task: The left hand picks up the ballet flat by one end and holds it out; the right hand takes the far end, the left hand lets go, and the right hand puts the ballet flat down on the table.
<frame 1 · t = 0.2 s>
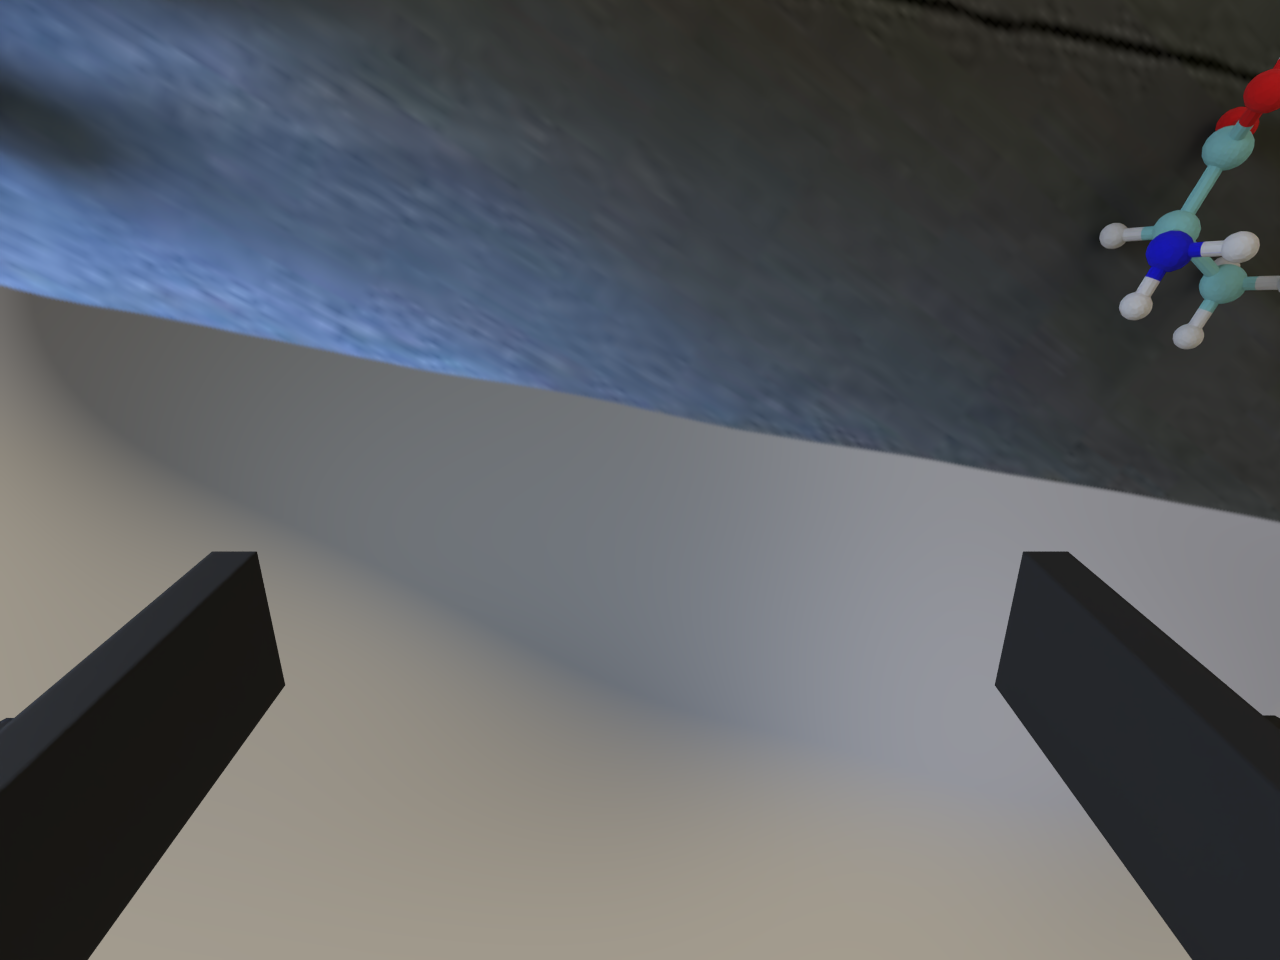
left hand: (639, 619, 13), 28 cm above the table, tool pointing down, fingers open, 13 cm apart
molecular model: (1148, 217, 37), on the table
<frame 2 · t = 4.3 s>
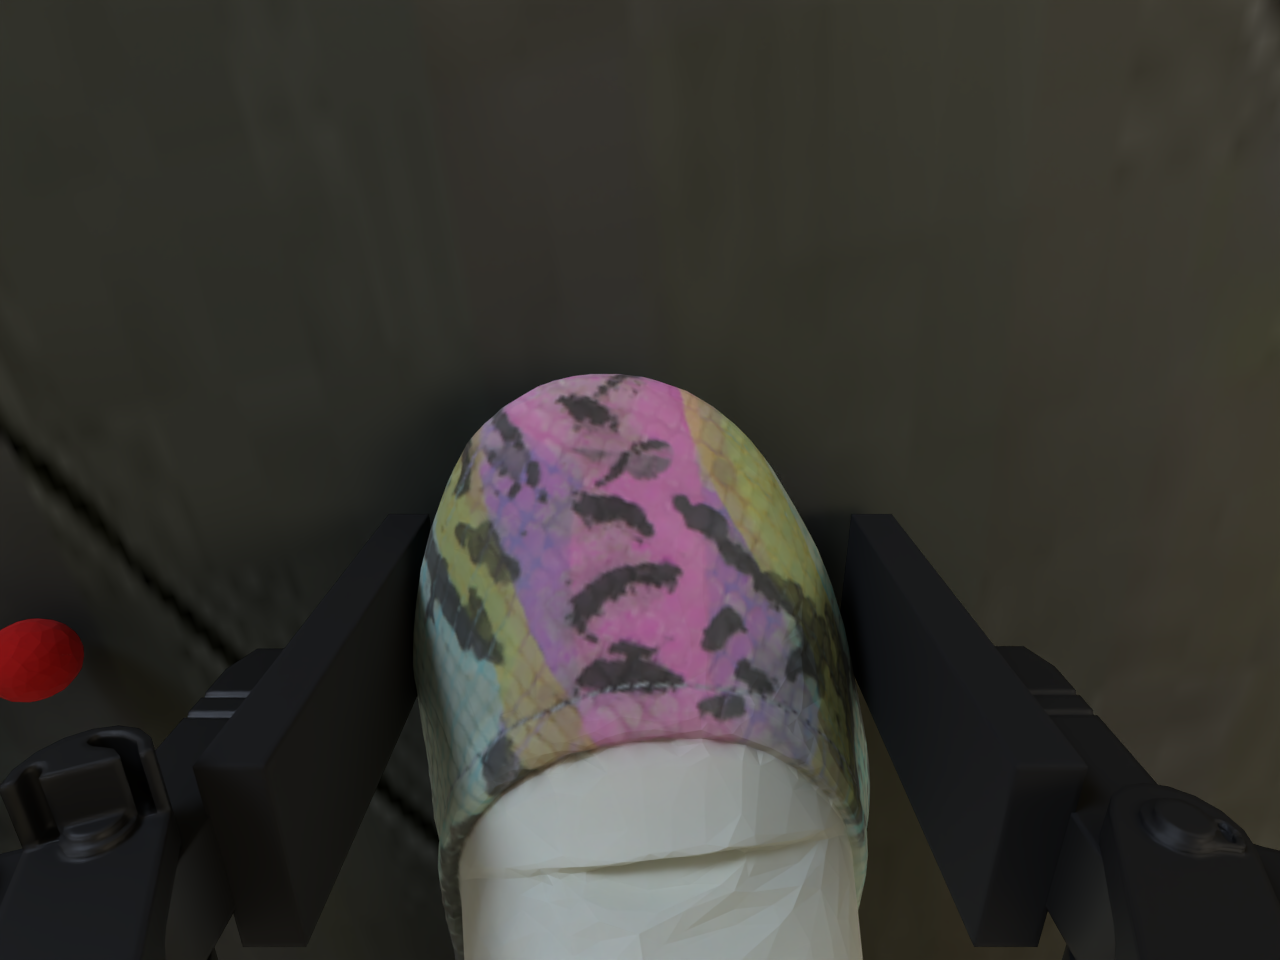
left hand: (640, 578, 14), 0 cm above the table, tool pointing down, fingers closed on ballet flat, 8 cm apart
ballet flat: (648, 858, 18), on the table, touching left hand
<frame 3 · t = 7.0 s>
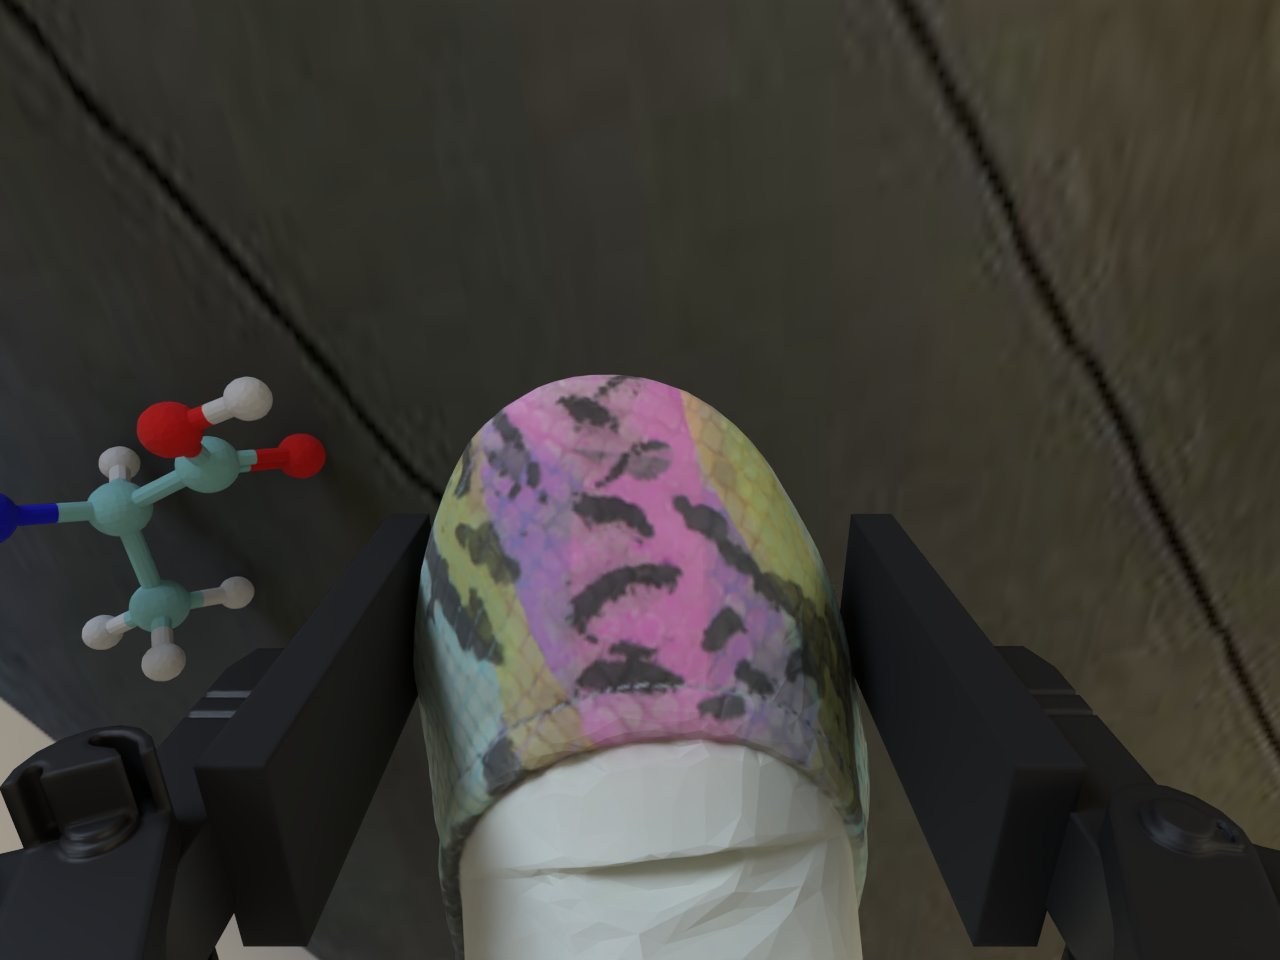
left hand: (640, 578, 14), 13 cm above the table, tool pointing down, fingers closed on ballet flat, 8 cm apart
molecular model: (193, 476, 27), on the table
ballet flat: (648, 858, 18), point 12 cm above the table, touching left hand
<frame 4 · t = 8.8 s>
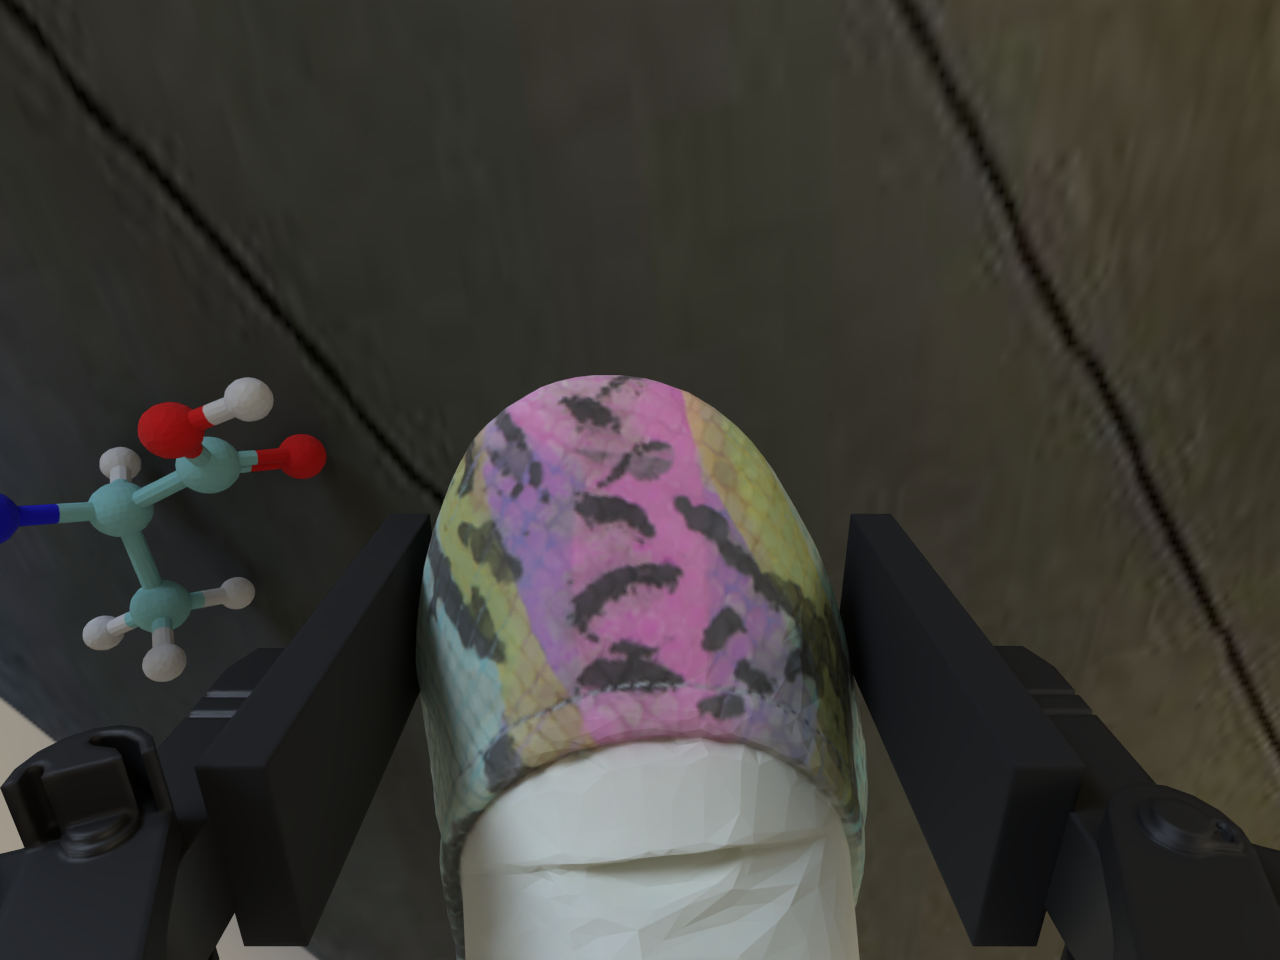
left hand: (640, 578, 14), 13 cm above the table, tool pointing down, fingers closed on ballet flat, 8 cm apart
molecular model: (194, 477, 27), on the table
ballet flat: (647, 855, 18), point 12 cm above the table, touching left hand, right hand
when the left hand's fingers open (13 cm above the table, at t = 10.0 s): ballet flat stays where it is, held by the right hand.
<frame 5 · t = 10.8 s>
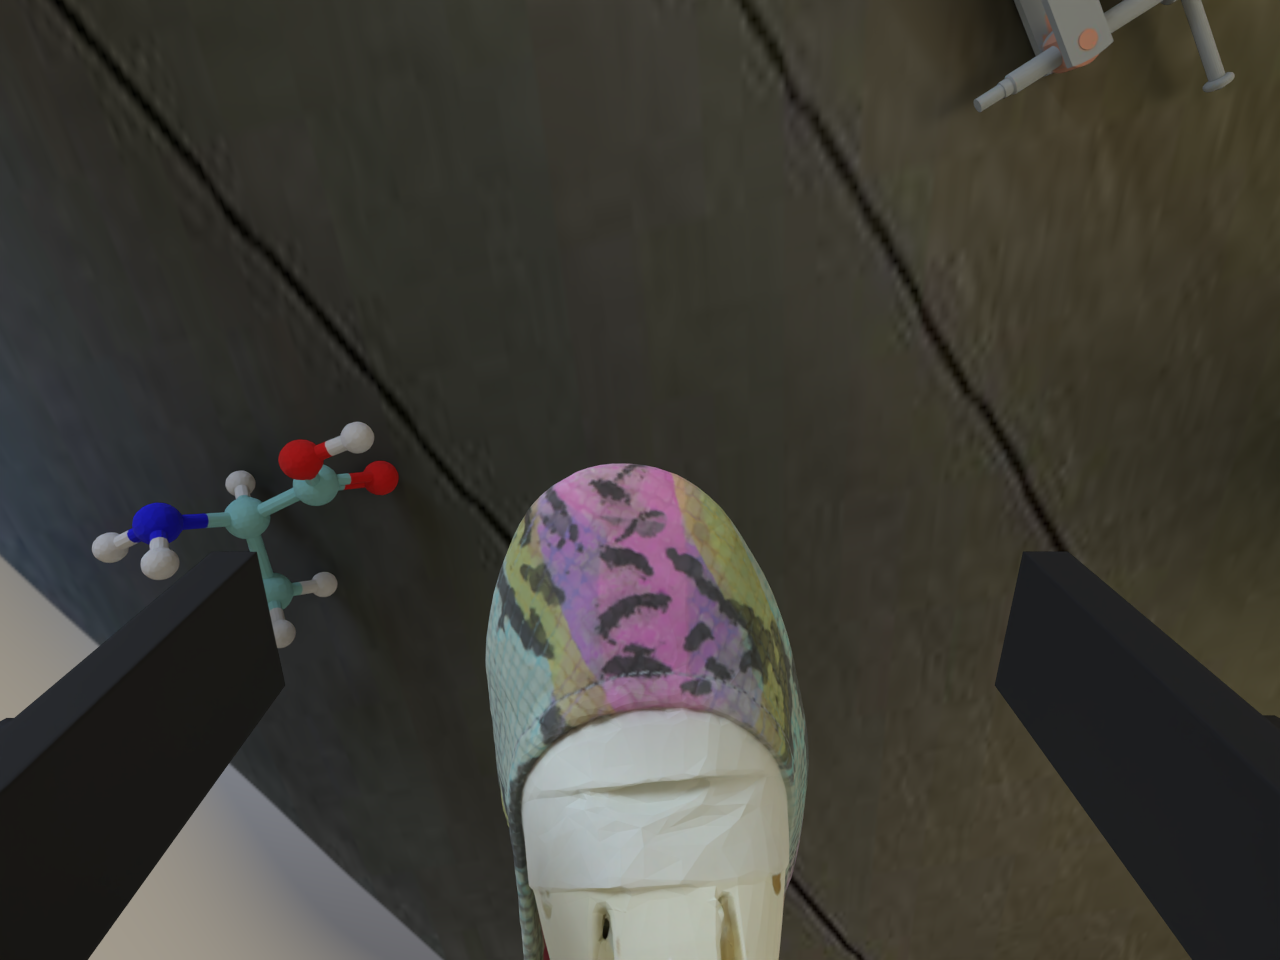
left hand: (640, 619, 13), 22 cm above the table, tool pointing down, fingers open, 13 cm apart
molecular model: (294, 493, 35), on the table
ballet flat: (649, 815, 23), point 15 cm above the table, touching right hand
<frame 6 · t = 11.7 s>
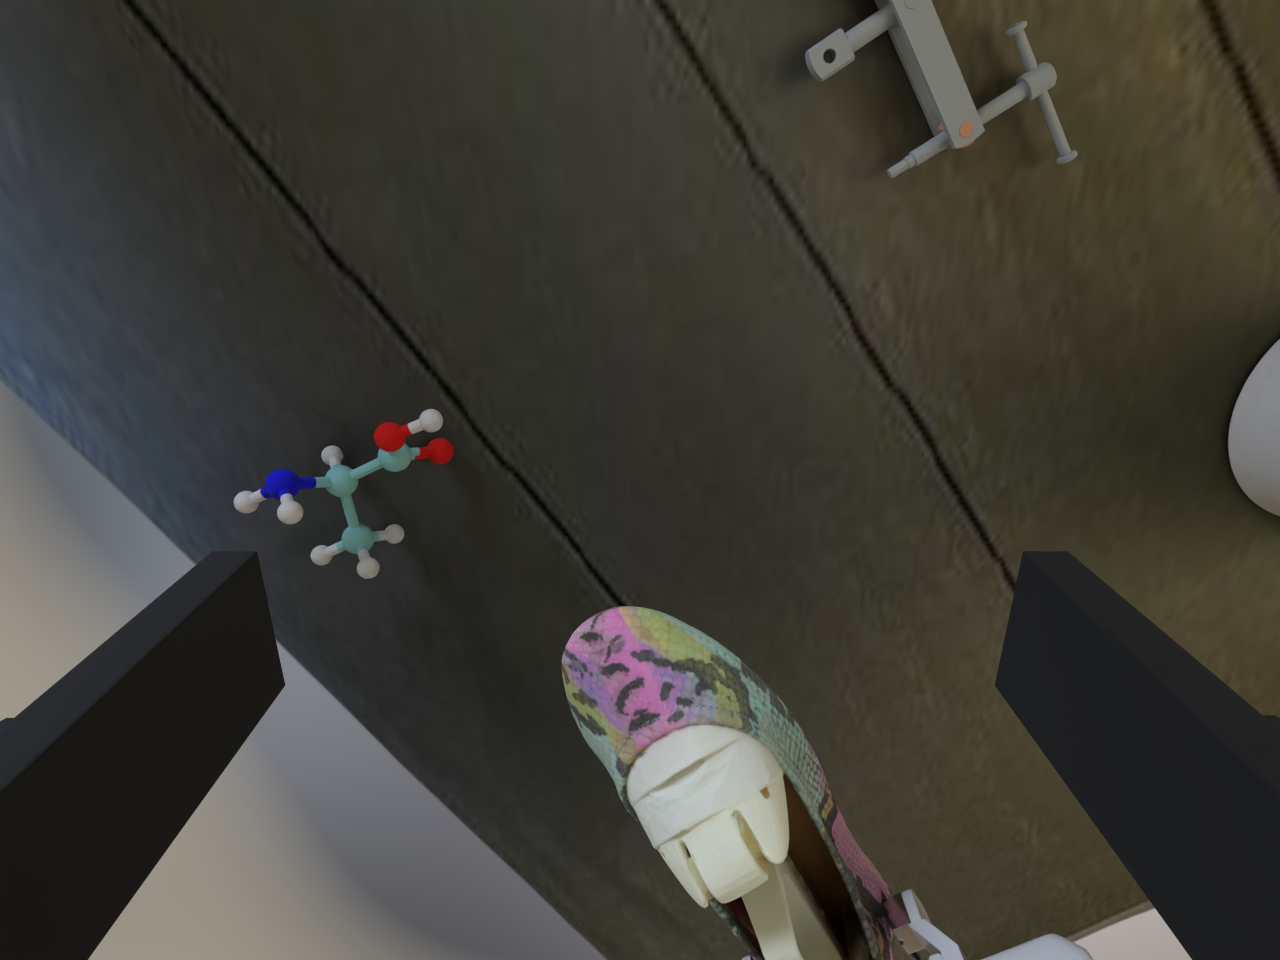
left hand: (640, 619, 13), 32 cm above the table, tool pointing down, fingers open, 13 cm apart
molecular model: (371, 463, 46), on the table
clamp: (921, 75, 38), on the table
ballet flat: (744, 775, 36), point 15 cm above the table, touching right hand
when the right hand's fingers open (4 cm above the table, at t = 14.7 s): ballet flat stays where it is, on the table.
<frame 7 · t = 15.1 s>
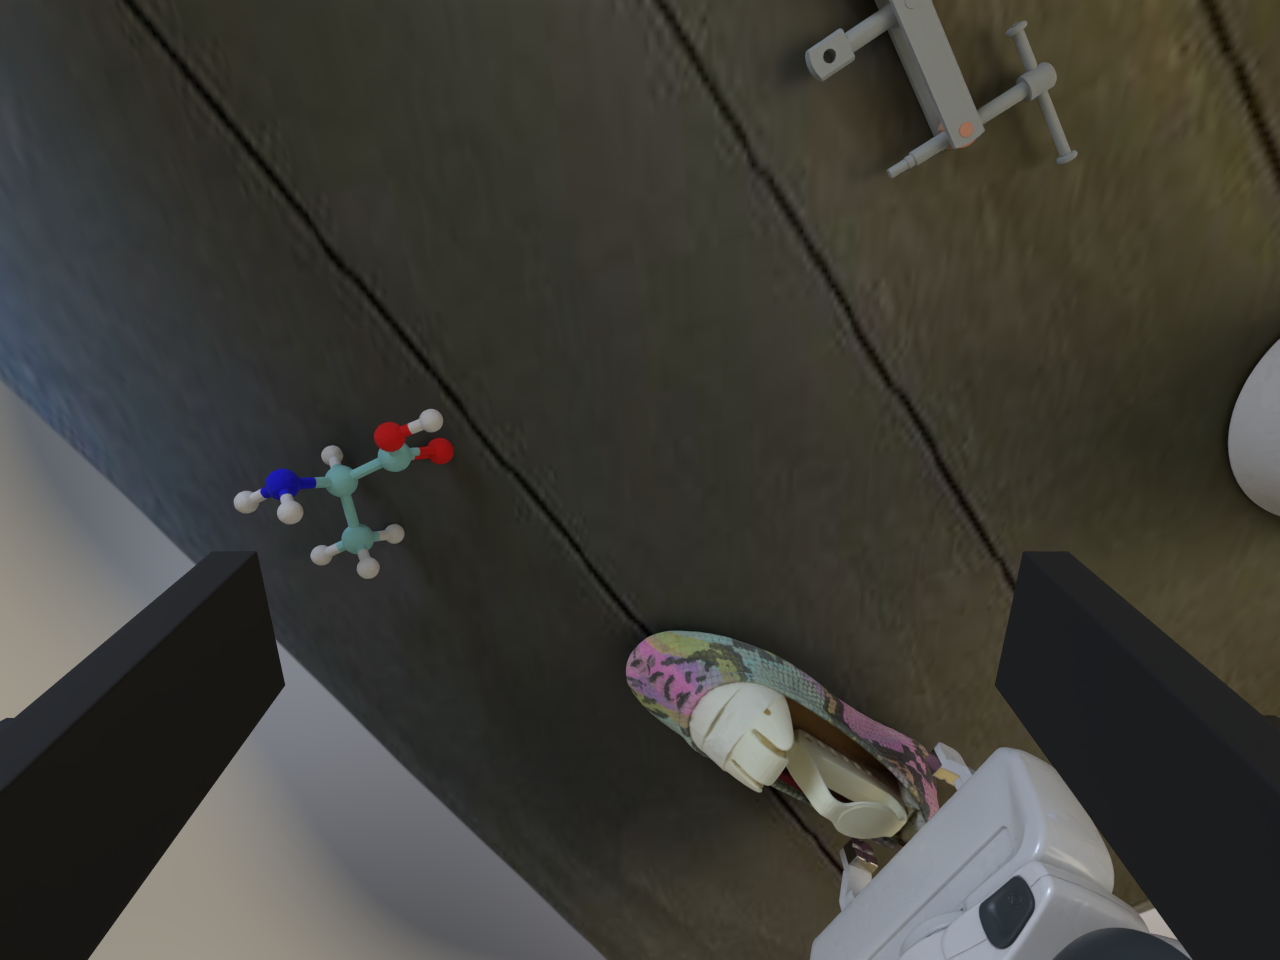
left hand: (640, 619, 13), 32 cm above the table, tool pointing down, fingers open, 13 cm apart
right hand: (896, 801, 50), fingers open, 8 cm apart
molecular model: (371, 463, 46), on the table
clamp: (921, 75, 38), on the table
ballet flat: (784, 706, 52), on the table
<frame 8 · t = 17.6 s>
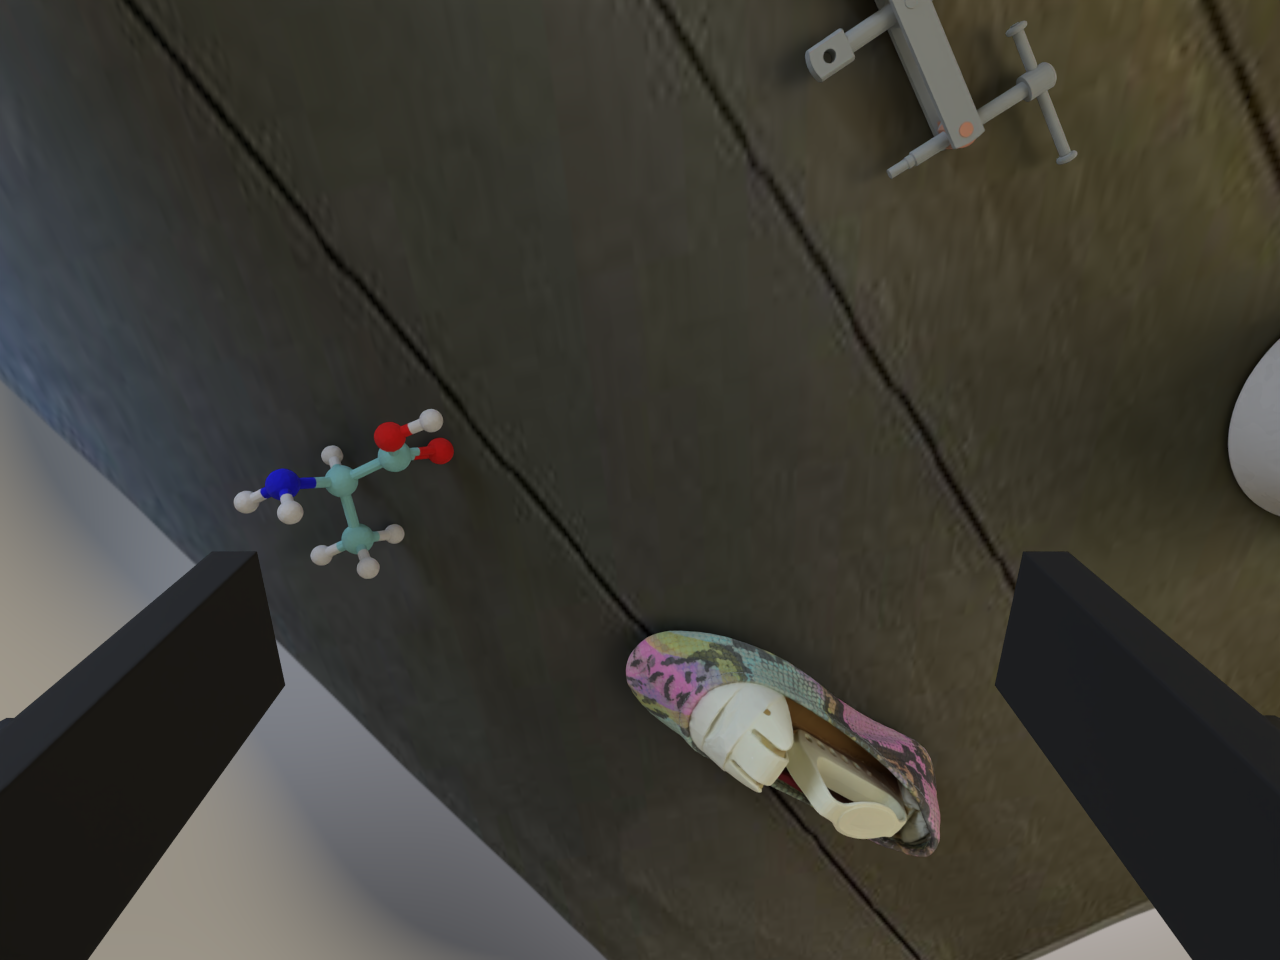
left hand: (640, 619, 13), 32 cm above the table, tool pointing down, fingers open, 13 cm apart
molecular model: (371, 463, 46), on the table
clamp: (921, 75, 38), on the table
ballet flat: (784, 706, 52), on the table
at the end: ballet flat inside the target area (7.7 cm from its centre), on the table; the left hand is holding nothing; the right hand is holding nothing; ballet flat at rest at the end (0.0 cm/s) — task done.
